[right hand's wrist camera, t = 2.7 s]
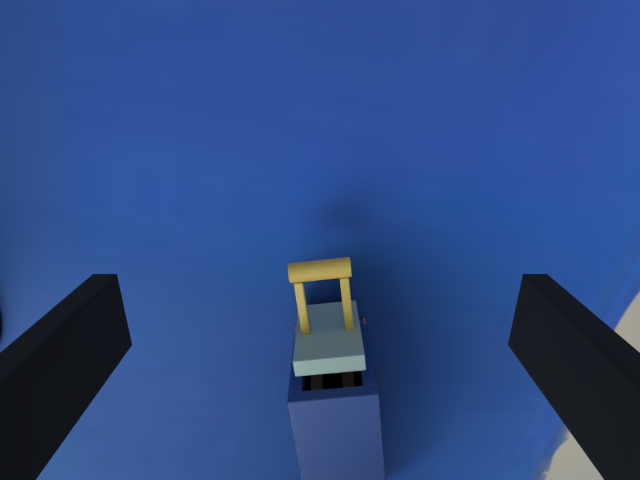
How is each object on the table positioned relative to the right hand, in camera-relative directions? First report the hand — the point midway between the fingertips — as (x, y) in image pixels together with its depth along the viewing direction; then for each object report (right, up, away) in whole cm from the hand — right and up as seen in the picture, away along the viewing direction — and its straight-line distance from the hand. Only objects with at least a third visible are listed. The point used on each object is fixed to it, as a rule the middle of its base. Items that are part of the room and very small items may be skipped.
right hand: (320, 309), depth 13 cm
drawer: (+1, -9, +20) cm, 22 cm away
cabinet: (+2, -13, +23) cm, 26 cm away
